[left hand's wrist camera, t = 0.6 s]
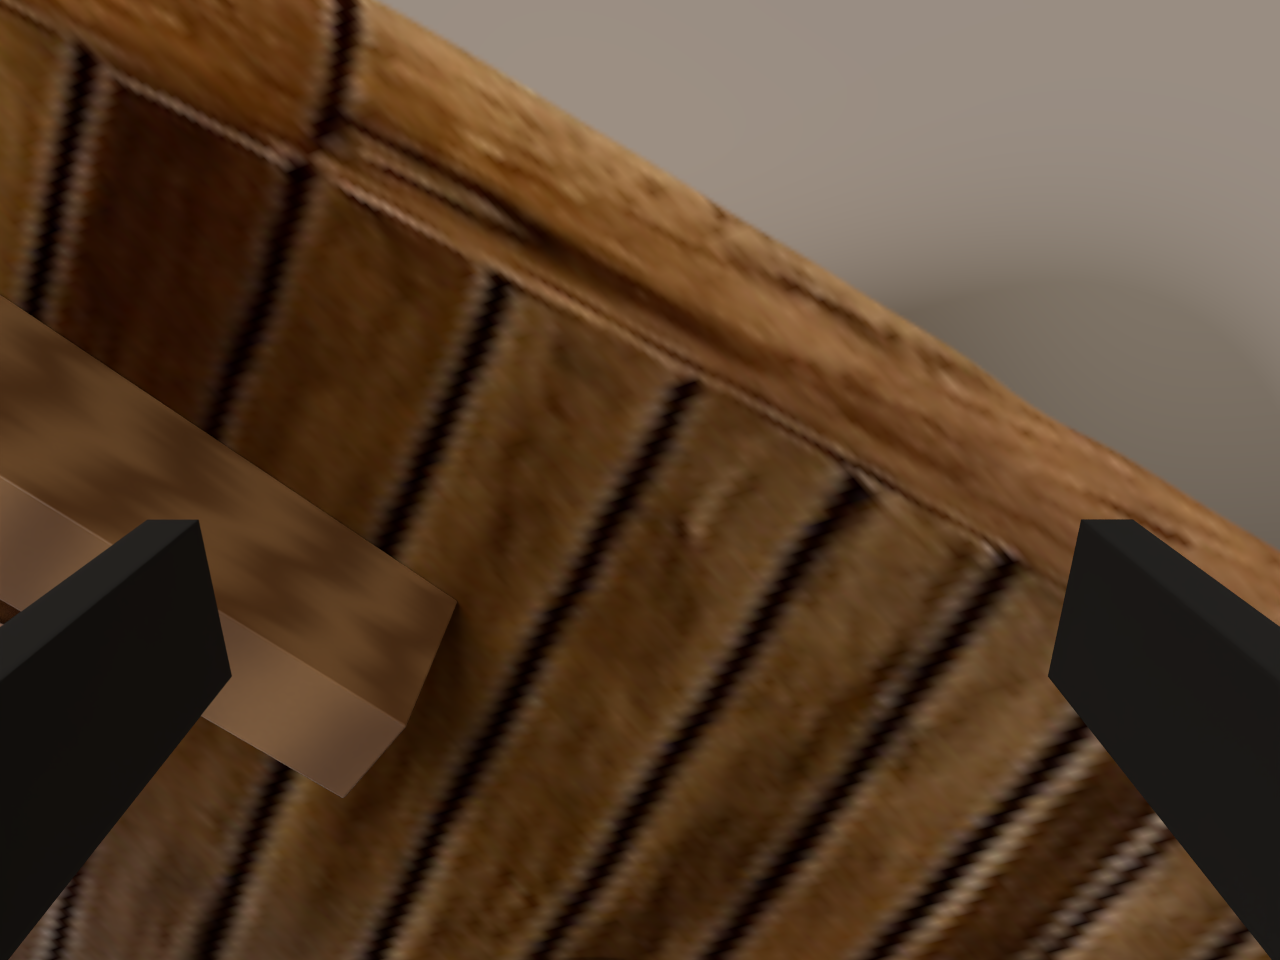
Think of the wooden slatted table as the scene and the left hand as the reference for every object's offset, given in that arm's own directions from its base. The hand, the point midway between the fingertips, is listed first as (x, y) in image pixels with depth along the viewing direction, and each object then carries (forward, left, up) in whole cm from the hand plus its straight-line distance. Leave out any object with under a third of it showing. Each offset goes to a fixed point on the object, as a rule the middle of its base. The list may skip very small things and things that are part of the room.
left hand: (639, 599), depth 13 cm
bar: (-15, +15, -23) cm, 31 cm away
